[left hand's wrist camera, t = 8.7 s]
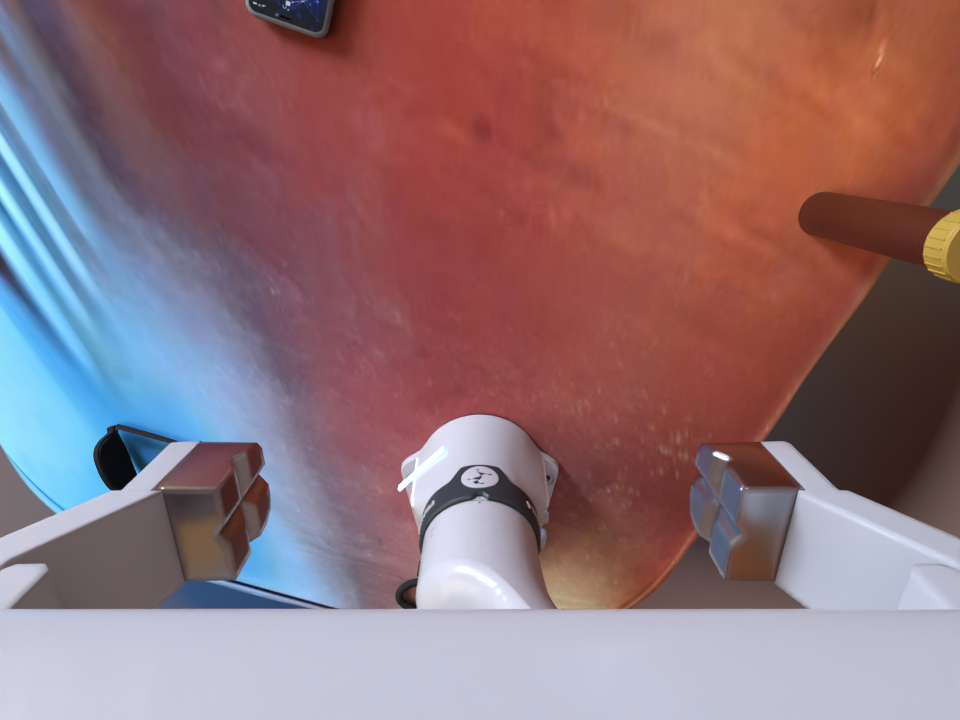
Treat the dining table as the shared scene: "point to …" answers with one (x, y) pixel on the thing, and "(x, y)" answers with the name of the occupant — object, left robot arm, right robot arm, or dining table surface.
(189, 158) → the dining table surface
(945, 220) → the lid
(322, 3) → the smartphone
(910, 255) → the grey metal cylinder
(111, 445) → the sunglasses
